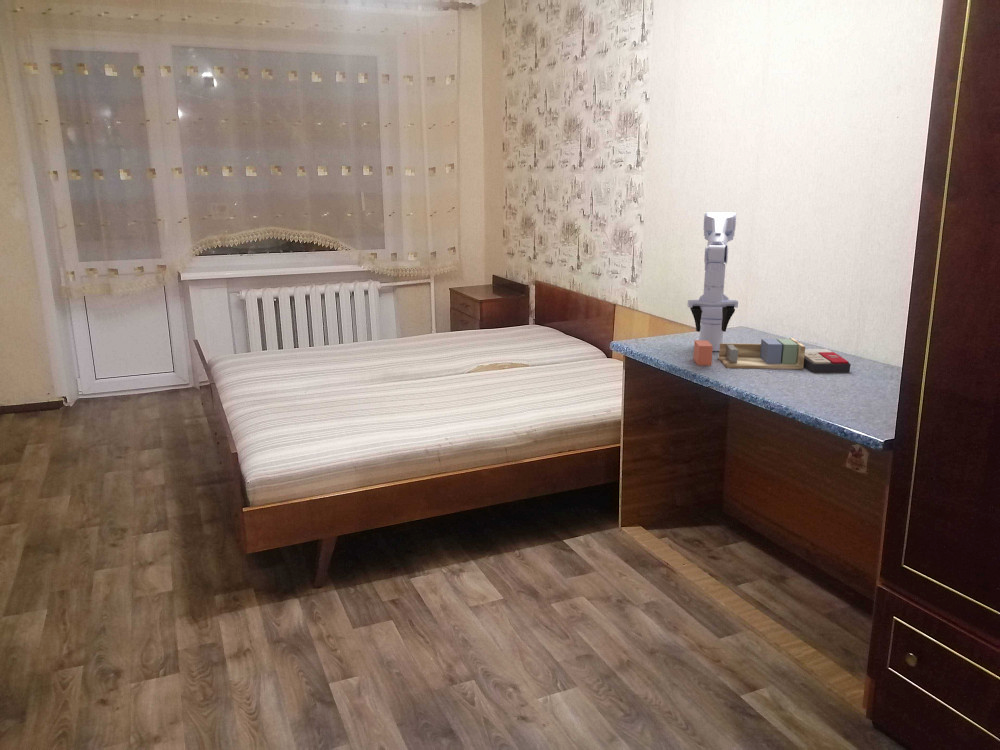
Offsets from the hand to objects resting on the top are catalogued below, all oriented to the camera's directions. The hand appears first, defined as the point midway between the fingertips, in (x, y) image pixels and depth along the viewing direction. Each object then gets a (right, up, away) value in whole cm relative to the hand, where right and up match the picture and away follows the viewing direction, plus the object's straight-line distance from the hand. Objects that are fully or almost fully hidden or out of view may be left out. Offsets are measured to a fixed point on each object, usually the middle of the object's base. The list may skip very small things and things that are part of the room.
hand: (710, 331), depth 226 cm
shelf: (+15, -10, +2) cm, 18 cm away
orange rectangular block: (-1, -9, +4) cm, 10 cm away
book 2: (+19, -9, +2) cm, 21 cm away
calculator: (+33, -11, -1) cm, 34 cm away
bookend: (+7, -9, +3) cm, 12 cm away
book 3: (+23, -9, +2) cm, 25 cm away
